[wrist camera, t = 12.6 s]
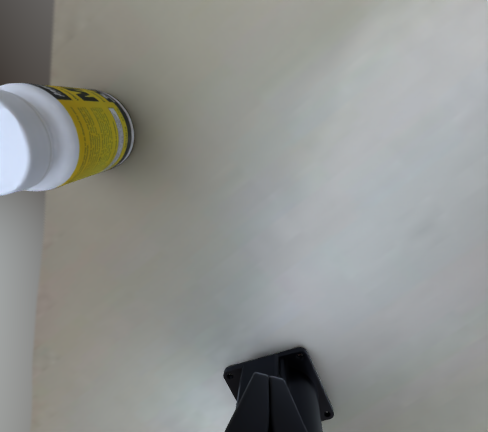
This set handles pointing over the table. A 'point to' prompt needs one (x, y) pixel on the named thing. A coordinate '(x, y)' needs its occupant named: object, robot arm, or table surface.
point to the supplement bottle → (58, 135)
